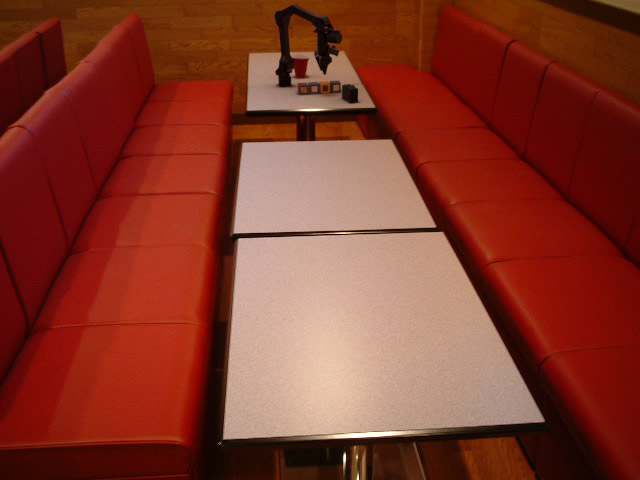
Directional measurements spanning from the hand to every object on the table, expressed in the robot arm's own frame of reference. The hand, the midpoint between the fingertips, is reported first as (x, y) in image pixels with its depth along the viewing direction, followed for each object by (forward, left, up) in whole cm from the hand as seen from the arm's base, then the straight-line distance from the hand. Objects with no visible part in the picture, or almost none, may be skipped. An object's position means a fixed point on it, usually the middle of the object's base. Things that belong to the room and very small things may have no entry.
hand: (323, 72), depth 334 cm
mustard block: (+1, -1, -10) cm, 10 cm away
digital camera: (+11, -20, -10) cm, 25 cm away
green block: (+6, -1, -10) cm, 12 cm away
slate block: (-5, -1, -10) cm, 11 cm away
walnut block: (-11, -1, -10) cm, 15 cm away
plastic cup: (-6, +35, -10) cm, 37 cm away
